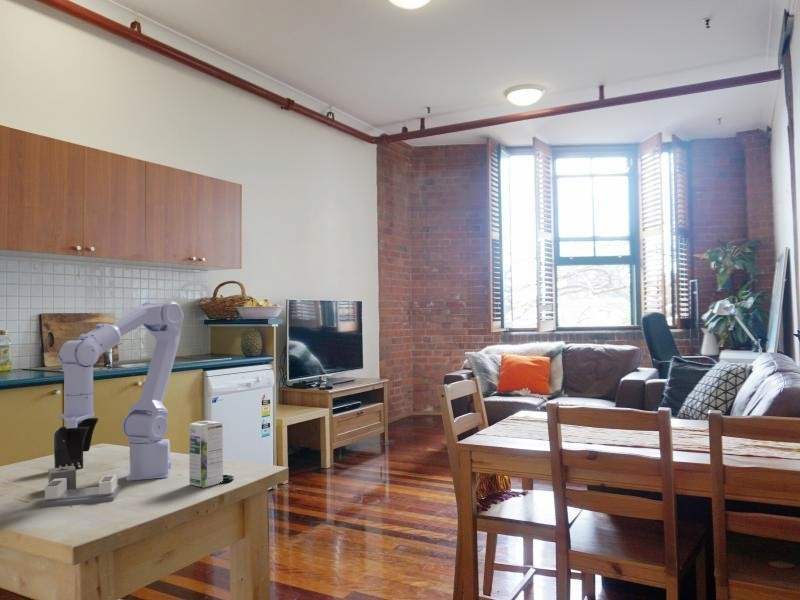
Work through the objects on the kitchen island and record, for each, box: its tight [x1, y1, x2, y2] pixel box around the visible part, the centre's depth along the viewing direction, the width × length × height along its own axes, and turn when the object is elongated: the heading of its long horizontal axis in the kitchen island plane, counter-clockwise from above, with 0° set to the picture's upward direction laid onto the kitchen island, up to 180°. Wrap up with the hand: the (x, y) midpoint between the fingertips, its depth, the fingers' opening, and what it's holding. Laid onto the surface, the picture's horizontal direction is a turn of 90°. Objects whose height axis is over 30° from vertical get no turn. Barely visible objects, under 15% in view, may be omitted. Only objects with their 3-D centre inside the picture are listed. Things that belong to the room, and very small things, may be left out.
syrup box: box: [188, 420, 224, 489], centre depth 143 cm, size 6×6×14 cm
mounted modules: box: [44, 473, 119, 499], centre depth 133 cm, size 13×7×3 cm, turn 105°
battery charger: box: [52, 428, 84, 471], centre depth 157 cm, size 7×4×11 cm, turn 131°
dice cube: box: [48, 466, 77, 490], centre depth 139 cm, size 5×5×5 cm
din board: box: [40, 484, 122, 508], centre depth 133 cm, size 14×9×2 cm, turn 105°
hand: (79, 455), depth 134 cm, fingers open, 7 cm apart
